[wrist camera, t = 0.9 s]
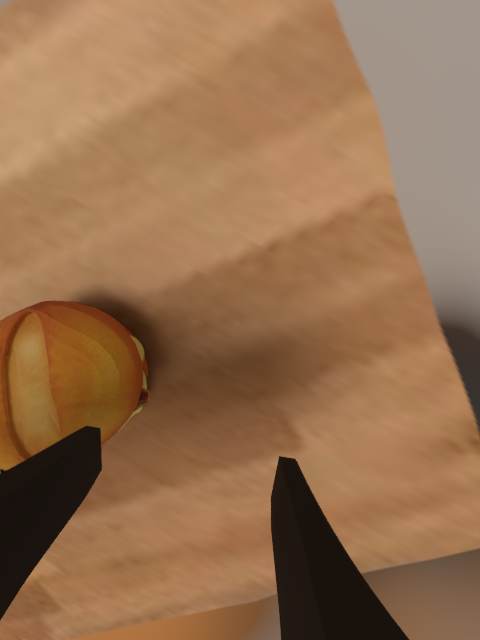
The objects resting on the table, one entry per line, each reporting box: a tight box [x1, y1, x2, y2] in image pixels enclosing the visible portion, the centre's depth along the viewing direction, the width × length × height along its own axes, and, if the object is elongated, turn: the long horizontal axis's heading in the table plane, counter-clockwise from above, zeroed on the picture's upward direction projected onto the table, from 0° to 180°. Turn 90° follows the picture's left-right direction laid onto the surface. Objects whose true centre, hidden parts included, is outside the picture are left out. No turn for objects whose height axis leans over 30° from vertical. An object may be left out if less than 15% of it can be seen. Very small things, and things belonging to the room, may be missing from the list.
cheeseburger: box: [0, 301, 150, 470], centre depth 16 cm, size 10×11×10 cm
